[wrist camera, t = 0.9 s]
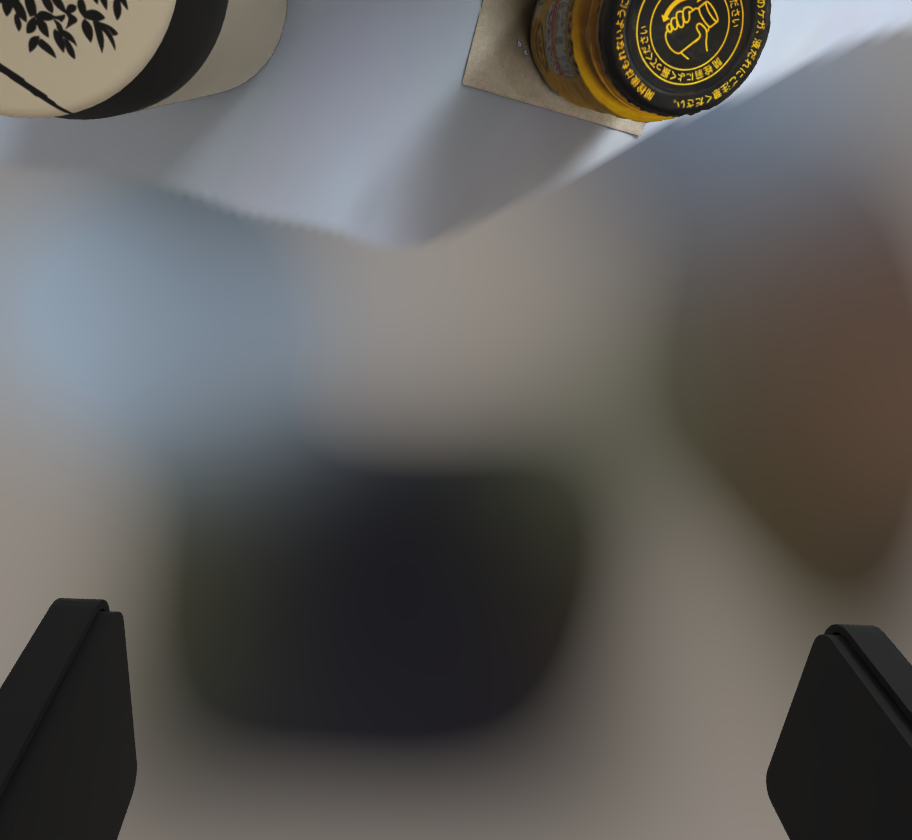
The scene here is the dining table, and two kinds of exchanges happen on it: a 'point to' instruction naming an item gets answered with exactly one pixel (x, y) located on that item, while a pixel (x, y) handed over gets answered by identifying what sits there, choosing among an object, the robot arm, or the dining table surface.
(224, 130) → the dining table surface
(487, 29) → the condiment
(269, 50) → the travel mug
